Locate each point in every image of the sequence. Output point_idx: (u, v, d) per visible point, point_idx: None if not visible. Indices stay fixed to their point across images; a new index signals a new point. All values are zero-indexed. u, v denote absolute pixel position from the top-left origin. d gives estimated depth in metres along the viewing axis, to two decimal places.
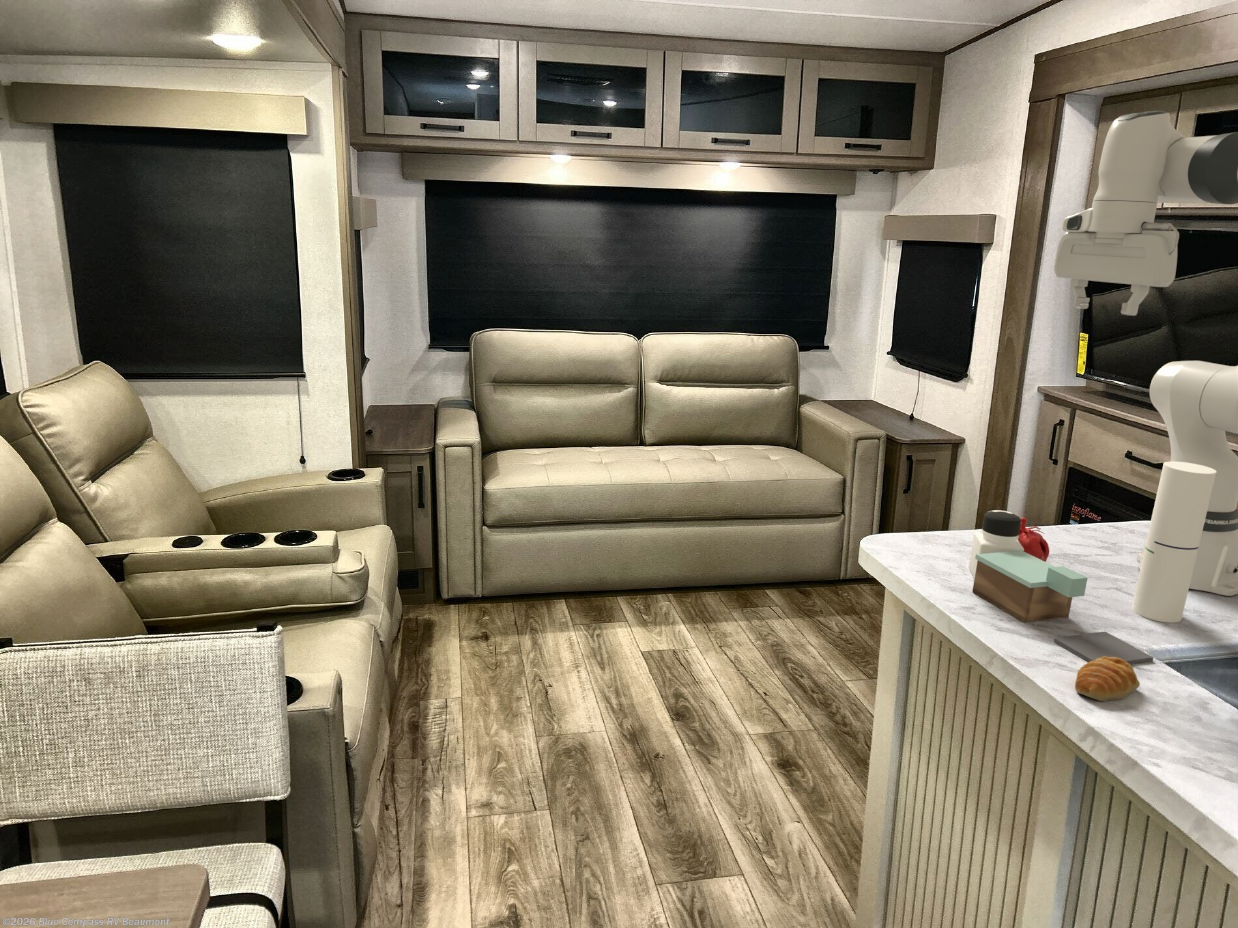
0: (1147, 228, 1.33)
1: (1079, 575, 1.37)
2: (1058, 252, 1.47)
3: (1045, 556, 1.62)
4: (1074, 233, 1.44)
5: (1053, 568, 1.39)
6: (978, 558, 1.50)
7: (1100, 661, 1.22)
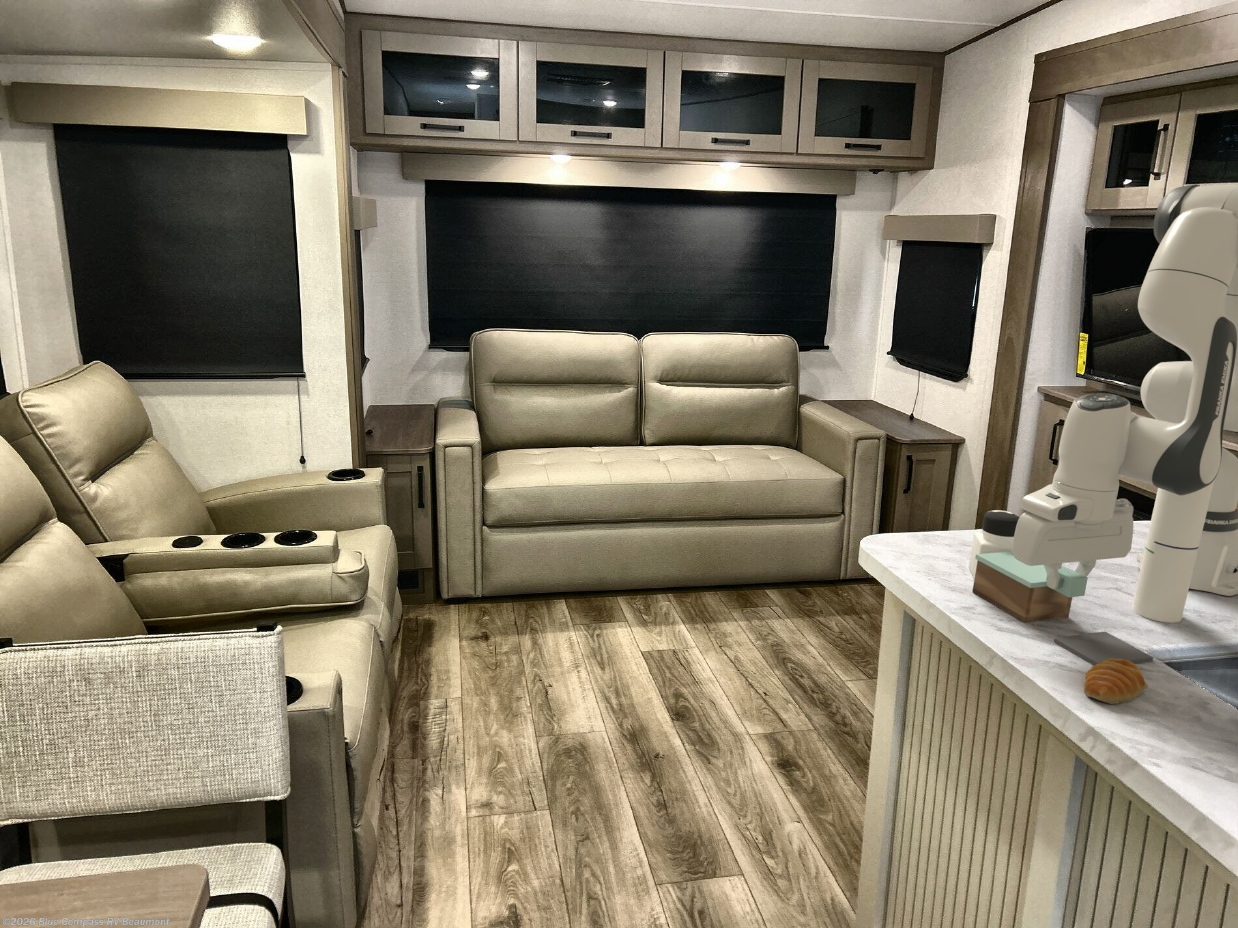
0: None
1: (1079, 575, 1.37)
2: (1039, 542, 1.31)
3: None
4: (1061, 522, 1.31)
5: None
6: (978, 558, 1.50)
7: (1108, 663, 1.21)
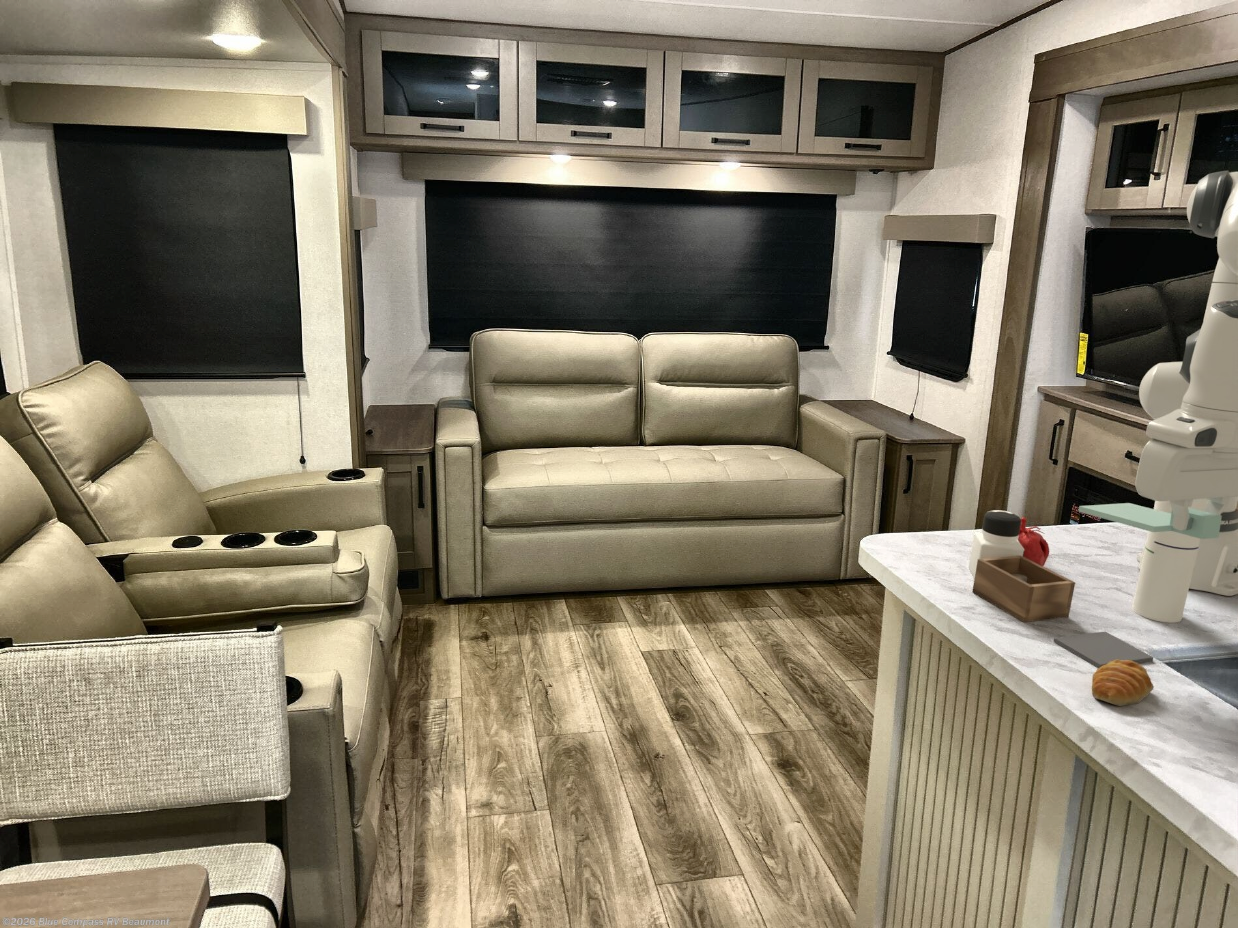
0: None
1: (1211, 514, 1.18)
2: (1171, 473, 1.13)
3: (1045, 556, 1.62)
4: (1197, 449, 1.12)
5: None
6: (1082, 510, 1.31)
7: (1114, 665, 1.21)
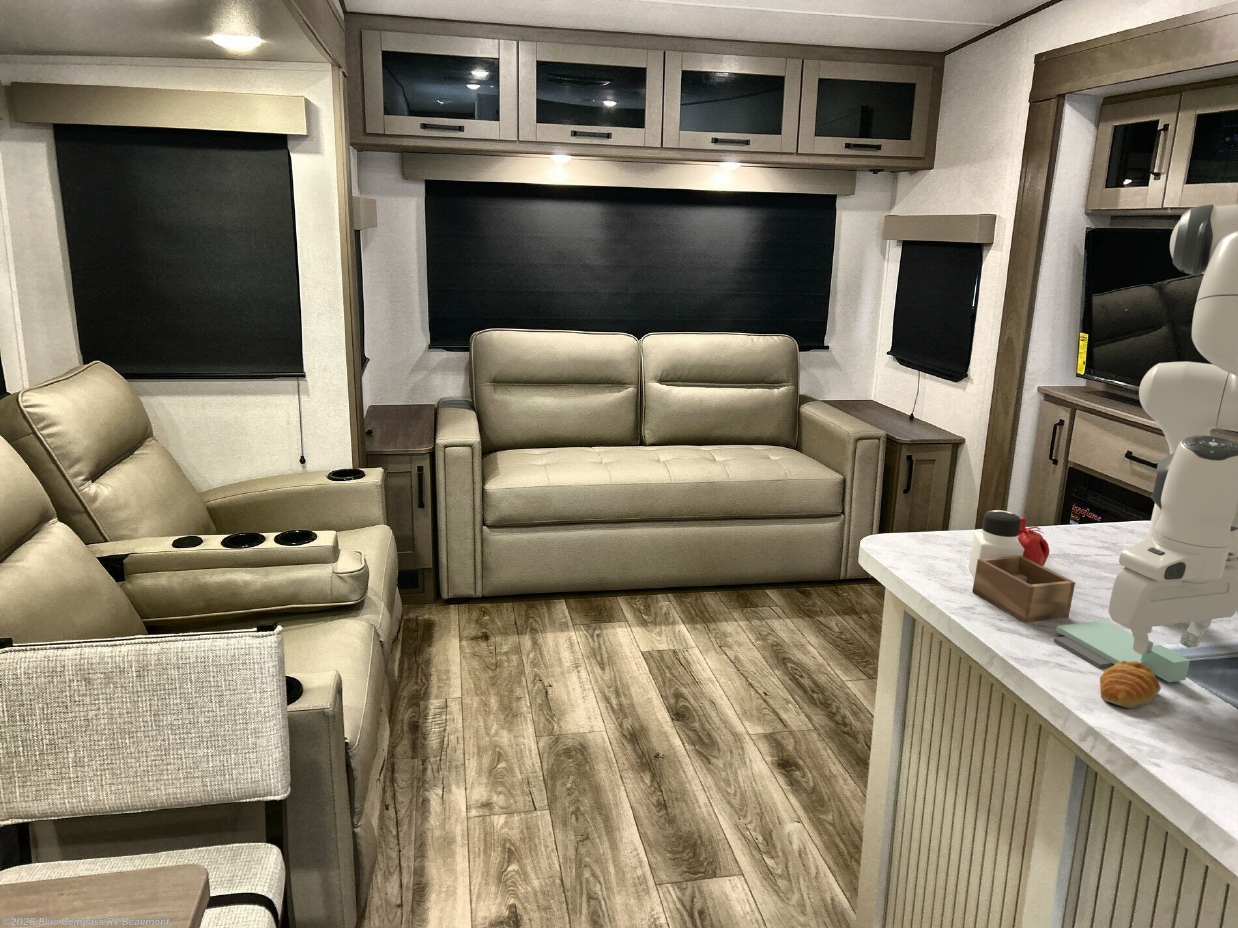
0: None
1: (1180, 657, 1.23)
2: (1142, 604, 1.17)
3: (1045, 556, 1.62)
4: (1167, 581, 1.17)
5: None
6: (1060, 630, 1.36)
7: (1122, 666, 1.20)
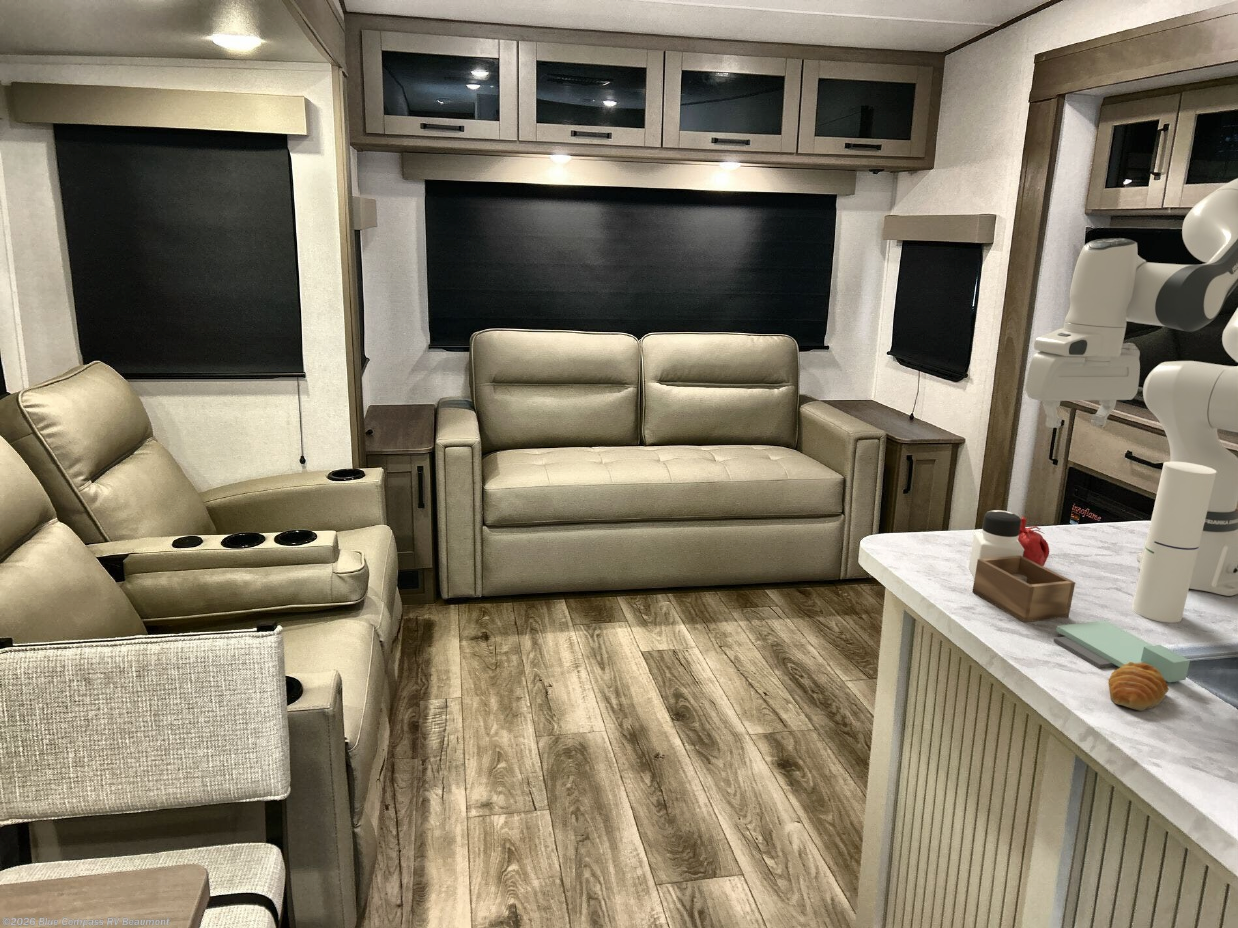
0: None
1: (1180, 657, 1.23)
2: (1051, 377, 1.39)
3: (1045, 556, 1.62)
4: (1072, 357, 1.39)
5: (1149, 648, 1.26)
6: (1060, 630, 1.36)
7: (1130, 668, 1.20)
